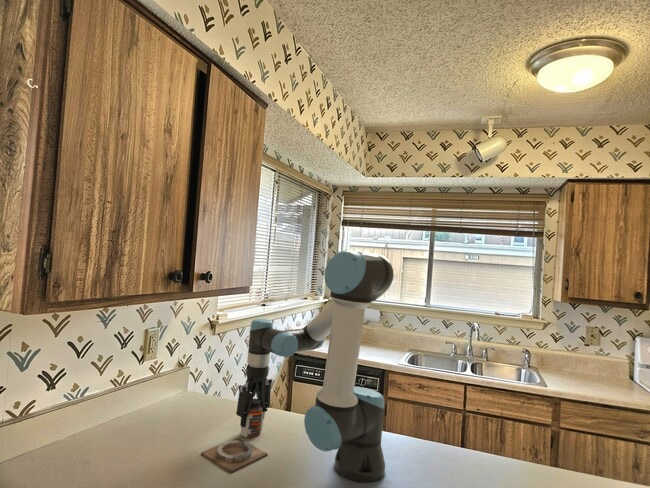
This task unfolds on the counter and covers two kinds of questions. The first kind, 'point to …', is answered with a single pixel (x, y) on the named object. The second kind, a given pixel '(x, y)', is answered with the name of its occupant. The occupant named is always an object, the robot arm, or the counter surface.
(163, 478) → the counter surface
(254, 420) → the supplement bottle
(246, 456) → the collar
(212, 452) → the seat board
